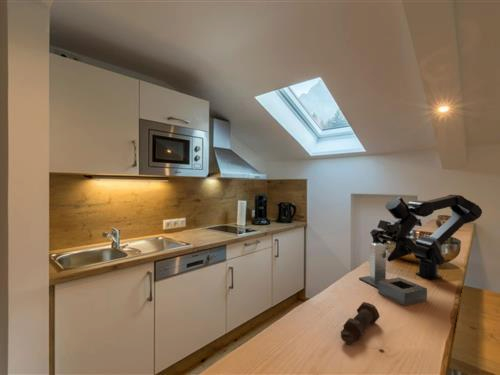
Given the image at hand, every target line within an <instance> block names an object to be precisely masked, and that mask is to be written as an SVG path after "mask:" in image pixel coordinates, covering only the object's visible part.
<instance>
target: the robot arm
mask: <svg viewBox="0 0 500 375" xmlns="http://www.w3.org/2000/svg"><path fill="white" fill-rule="evenodd" d="M446 208H447V209H448V208H449V210H451V216H450V217H449V218H447V220H446V221H445V222H443V224H442V225H440V227H438V228H437V229H436V230H434V232H433V233H432V234H430V235H429V236H428V237H427V236H424V235H421V236H419V237H418V238H417V240H415V241H413V240H412V239H411V238H410V237H411V236H412V234H411V232H412V230H413V229H414V228H415V227H416V226H418V227H422V225H423V224H422V220H421V219H420V218H418V217H422V218H423V217H424V218H426V217H428V216H431V215H432V214H433V213H434V212H435V211H438V210H441V209H442V210H443V209H446ZM385 209H386V210H387V211H388V212H389V214H390V215H391V216H392V217H393V218H394V219H397V221H393V220H391V221H386V220H382V219H380V220H379V222H378V224H377V227H376V228H375V229H374V228H373V229H371V231H370V236H371V237H372V243H382V244H384V245H385V244H387V242H389V243H393V244H395V246H394V248H393V250H392V251H391V253H390V254H389V256H388V257H387V258H386V261H388V262H389V263H390V262H392V261H394V260H397V259H400V258H402V257H405V256H408V255H410V256H411V255H412V254H413V256H414V258H415V259H417V260H419V264H418V272H415V275H417V276H420V277H422V278H425V279H428V280H437V279H442V278H443V276H442V275H439V266H441V265H443V264H444V263H445V260H446V259H445V258H444V256H443V255H442V254H441V252H442V246H443V245H444V243H446V242H447V241H448V240H449V239H450V238H451V237H452V236H453V235H455V233H457V232H458V231H459V230H460V229H461V228H462V227H463V226H464V225H465V224H468V223H469V224H470V223H473V222H475V221H476V220H478V219H479V218H481V216H482V214H483V210H482V208H481V207H480V206H479V205H478V204H476V202H475V203H474V202H473V201H471V200H468V199H467V198H465V197H464V196H463V195H461V194H448V195H445V196H441V197H437V198H433V199H429V200H410V201H408V203H406V202H405V200H404V199H403V197H401V196H396V197H395V198H393V199H391V200H389V201H387V202H386V204H385ZM379 229H380V230H379ZM382 230H383V231H382Z"/></svg>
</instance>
